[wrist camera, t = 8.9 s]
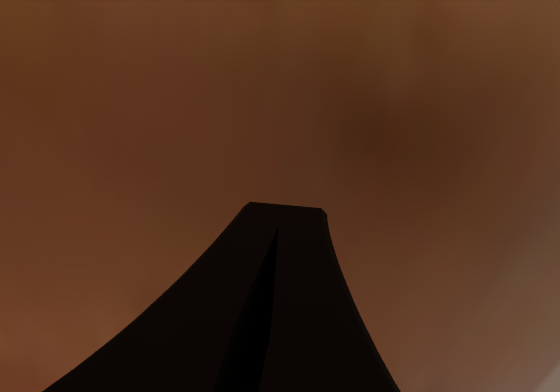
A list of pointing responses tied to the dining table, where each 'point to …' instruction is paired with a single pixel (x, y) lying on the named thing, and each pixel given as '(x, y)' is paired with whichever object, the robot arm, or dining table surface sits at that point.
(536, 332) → the dining table surface
